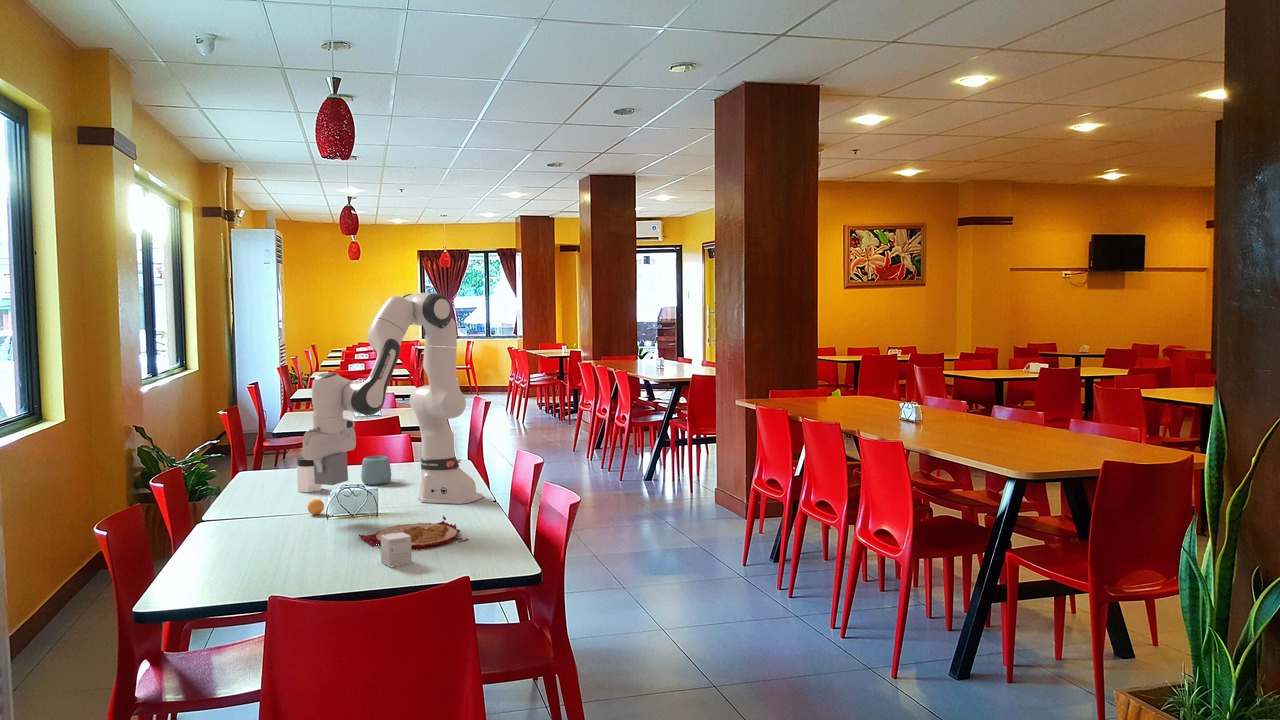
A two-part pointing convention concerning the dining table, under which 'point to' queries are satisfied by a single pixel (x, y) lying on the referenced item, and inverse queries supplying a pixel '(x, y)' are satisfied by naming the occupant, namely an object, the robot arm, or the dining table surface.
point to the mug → (376, 470)
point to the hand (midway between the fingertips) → (330, 469)
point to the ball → (315, 506)
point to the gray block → (332, 470)
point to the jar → (306, 476)
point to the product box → (396, 549)
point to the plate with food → (420, 534)
